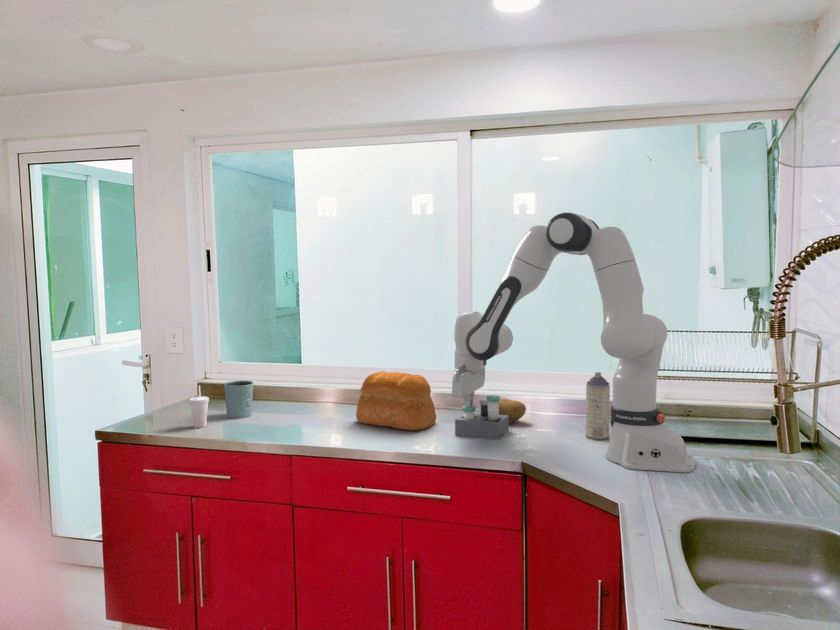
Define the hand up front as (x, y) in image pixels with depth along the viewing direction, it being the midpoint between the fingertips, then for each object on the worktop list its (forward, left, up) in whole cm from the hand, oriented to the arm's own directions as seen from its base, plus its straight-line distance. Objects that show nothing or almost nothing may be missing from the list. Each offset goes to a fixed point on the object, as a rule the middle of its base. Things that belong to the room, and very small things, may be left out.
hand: (468, 406), depth 188 cm
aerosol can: (-38, -10, -9) cm, 40 cm away
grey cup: (+84, +11, -9) cm, 85 cm away
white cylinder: (0, 0, -7) cm, 7 cm away
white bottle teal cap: (-8, 0, -4) cm, 9 cm away
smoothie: (+86, +28, -9) cm, 91 cm away
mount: (-4, -1, -8) cm, 9 cm away
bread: (+27, -2, -9) cm, 28 cm away
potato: (-7, -17, -9) cm, 20 cm away
